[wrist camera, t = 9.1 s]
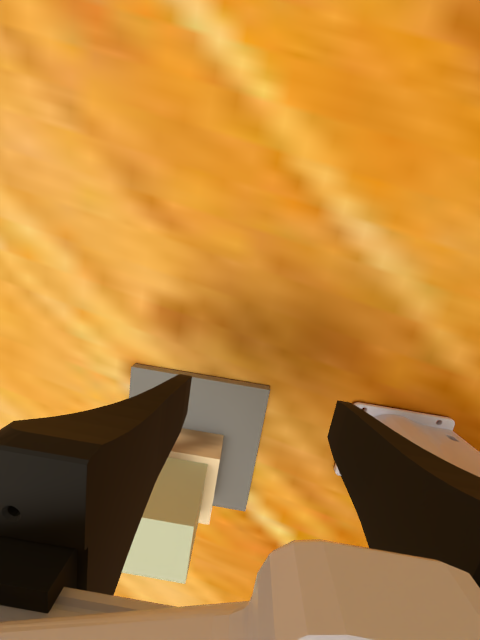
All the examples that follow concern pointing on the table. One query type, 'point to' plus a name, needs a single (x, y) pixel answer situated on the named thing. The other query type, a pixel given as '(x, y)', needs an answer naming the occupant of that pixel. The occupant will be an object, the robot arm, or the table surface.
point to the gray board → (219, 424)
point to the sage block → (169, 523)
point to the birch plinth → (201, 461)
